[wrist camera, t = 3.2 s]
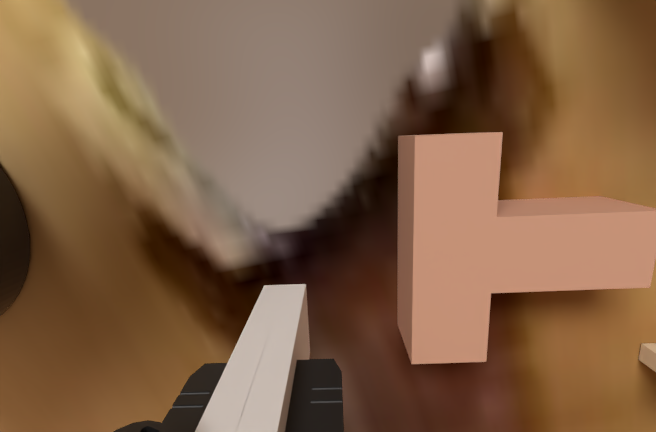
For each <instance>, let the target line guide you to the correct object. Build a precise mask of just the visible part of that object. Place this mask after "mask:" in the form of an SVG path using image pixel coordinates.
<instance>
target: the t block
mask: <svg viewBox="0 0 656 432" xmlns="http://www.w3.org/2000/svg"><path fill="white" fill-rule="evenodd" d="M502 134H503V132H491V133H456V134H433V135H411V136H398V327H399V330H400V333H401V336H402V338H403V341H404V344H405V347H406V350H407V353H408V355H409V358H410V361H411V364H433V363H464V362H486V358H487V344H488V330H489V316H490V302H491V293H512V292H540V291H567V290H595V289H622V288H650V285H651V279H652V274H653V269H654V263H655V258H656V209H655V208H651V207H647V206H642V205H638V204H633V203H629V202H624V201H620V200H615V199H611V198H606V197H602V196H592V197H568V198H543V199H519V200H498V190H499V176H500V162H501V148H502Z"/></svg>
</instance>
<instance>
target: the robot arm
mask: <svg viewBox="0 0 656 432" xmlns="http://www.w3.org/2000/svg"><path fill="white" fill-rule="evenodd" d="M29 258H30V240H29V232H28V226H27V222H26V218H25V215H24V211H23V208H22V206H21V203H20V201H19V198H18V196H17V194H16V192H15V190H14V188H13V186H12V184H11V183H10V181H9V179H8V178H7V176H6V175H5V173H4V172H3V170H2V169H1V167H0V315H1V314H3V313H4V312H5V311H6V310H7V309H8V308H9V307H10V305H11V304H12V303H13V301H14V300H15V299H16V297H17V296H18V294H19V292H20V290H21V288H22V286H23V283H24V281H25V278H26V275H27V271H28V266H29ZM309 357H310V342H309V326H308V309H307V293H306V284H291V285H264V287H263V289H262V291H261V294H260V296H259V298H258V300H257V302H256V304H255V306H254V308H253V310H252V313H251V315H250V317H249V319H248V321H247V323H246V325H245V327H244V329H243V331H242V334H241V336H240V338H239V340H238V342H237V344H236V346H235V348H234V350H233V353H232V355H231V357H230V359H229V361H228V363H211V364H204V365H203V366H202V367H201V368H199V369H198V370H197V371H196V372H195V373H194V374H192V375H191V376H190V377H189V379H188V381H187V382H186V384H185V386H184V387H183V389H182V391H181V394H180V395H179V396H178V397H177V399H176V400H175V402H174V404H173V407H172V409H170V410H169V412H168V414H167V415H166V417H165V419H164V420H163V422H162V423H160V422H154V421H142V422H136V423H132V424H129V425H127V426H125V427H122V428H120V429H117V430H115V431H114V432H344V425H343V399H342V373H341V370H340V368H339V367H338V365H337V364H336V362H335V361H334V359H310V360H309Z"/></svg>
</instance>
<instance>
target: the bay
mask: <svg viewBox="0 0 656 432" xmlns="http://www.w3.org/2000/svg"><path fill="white" fill-rule="evenodd" d="M638 360H640V361H641V362H642V363H644V364H645V365H646V366H648V367H649V368H651V369H652V370H653V371H655V372H656V343H646V344H641V349H640V354H639V359H638Z"/></svg>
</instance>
